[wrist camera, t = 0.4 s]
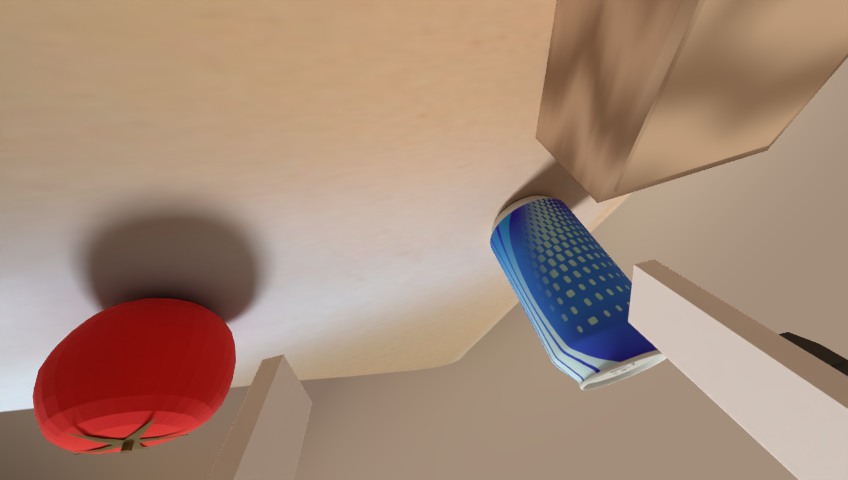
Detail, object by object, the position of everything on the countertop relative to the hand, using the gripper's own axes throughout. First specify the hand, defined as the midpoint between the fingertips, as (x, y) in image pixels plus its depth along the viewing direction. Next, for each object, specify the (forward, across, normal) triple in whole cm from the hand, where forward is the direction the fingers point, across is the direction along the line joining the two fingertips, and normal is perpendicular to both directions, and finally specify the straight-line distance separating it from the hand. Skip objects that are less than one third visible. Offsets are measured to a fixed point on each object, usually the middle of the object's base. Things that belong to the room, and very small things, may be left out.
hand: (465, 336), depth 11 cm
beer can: (+20, +10, -6) cm, 23 cm away
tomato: (+17, -26, -5) cm, 31 cm away
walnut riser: (+14, +16, +9) cm, 23 cm away
